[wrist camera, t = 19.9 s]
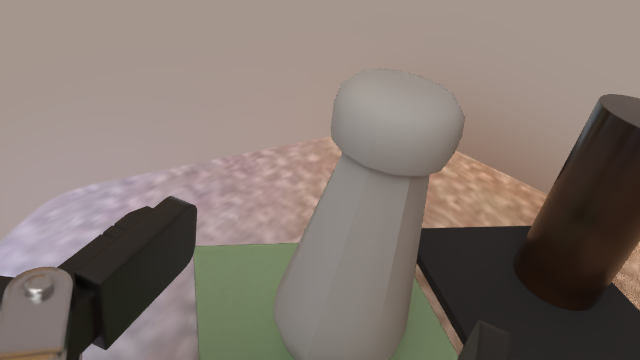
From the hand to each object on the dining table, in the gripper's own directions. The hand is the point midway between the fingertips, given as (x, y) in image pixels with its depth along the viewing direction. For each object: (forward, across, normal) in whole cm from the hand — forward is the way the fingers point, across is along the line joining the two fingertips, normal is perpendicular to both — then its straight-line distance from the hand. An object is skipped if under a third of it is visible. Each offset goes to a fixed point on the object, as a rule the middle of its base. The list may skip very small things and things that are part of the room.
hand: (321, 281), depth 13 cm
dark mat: (+15, -10, +10) cm, 20 cm away
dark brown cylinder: (+17, -11, +9) cm, 22 cm away
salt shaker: (+6, 0, +9) cm, 11 cm away
